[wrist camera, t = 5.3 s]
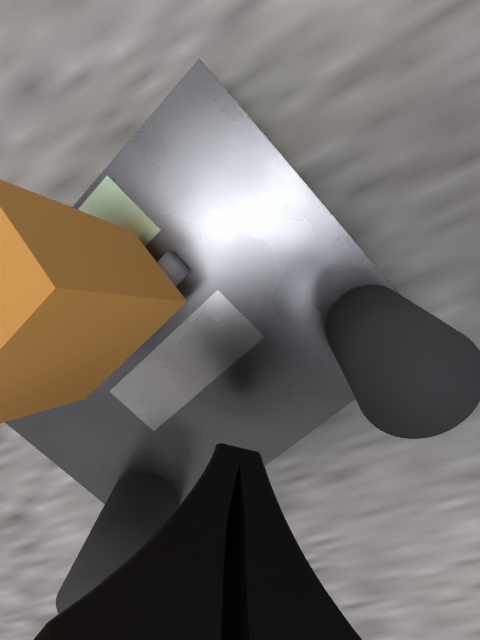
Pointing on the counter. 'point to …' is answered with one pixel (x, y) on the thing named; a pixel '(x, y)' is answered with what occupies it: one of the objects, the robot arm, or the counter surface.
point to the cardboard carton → (72, 300)
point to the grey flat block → (212, 302)
